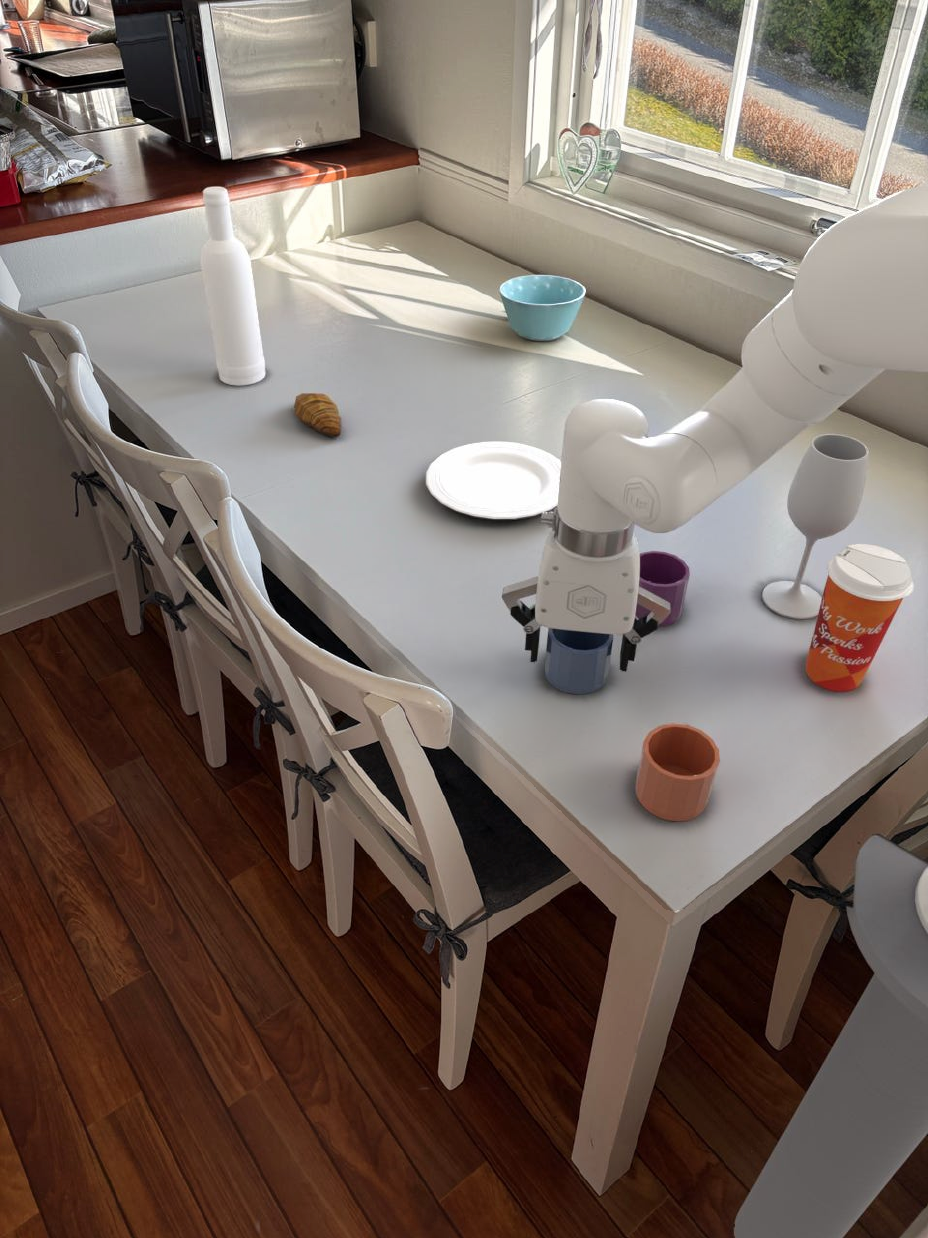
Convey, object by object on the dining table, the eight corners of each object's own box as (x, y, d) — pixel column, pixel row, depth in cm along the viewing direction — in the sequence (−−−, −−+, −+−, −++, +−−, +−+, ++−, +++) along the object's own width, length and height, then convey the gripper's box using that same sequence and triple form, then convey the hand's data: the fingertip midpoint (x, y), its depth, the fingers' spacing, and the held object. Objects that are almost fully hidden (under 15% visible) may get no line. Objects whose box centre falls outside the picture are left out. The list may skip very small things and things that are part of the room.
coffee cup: (781, 674, 102) (816, 564, 92) (815, 638, 107) (852, 531, 97) (853, 711, 98) (898, 601, 88) (885, 673, 102) (931, 564, 93)
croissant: (280, 410, 148) (276, 381, 145) (318, 400, 151) (315, 372, 148) (316, 446, 140) (313, 416, 136) (356, 435, 142) (354, 405, 139)
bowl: (480, 330, 174) (481, 286, 169) (538, 309, 182) (540, 267, 177) (540, 356, 165) (544, 311, 160) (598, 333, 174) (603, 289, 168)
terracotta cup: (722, 798, 88) (735, 756, 84) (672, 833, 85) (683, 791, 81) (669, 755, 93) (679, 713, 89) (620, 786, 89) (628, 744, 85)
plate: (552, 447, 140) (552, 435, 139) (589, 522, 125) (590, 510, 123) (416, 457, 137) (416, 445, 136) (437, 535, 122) (436, 523, 120)
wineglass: (822, 626, 108) (876, 470, 95) (756, 611, 110) (799, 456, 97) (827, 589, 114) (878, 437, 100) (764, 575, 116) (806, 424, 102)
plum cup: (693, 612, 110) (702, 572, 106) (652, 634, 107) (660, 594, 103) (651, 583, 114) (658, 544, 110) (611, 604, 111) (617, 564, 107)
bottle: (272, 368, 160) (249, 183, 141) (257, 388, 154) (230, 198, 135) (228, 364, 161) (199, 180, 142) (211, 383, 155) (178, 194, 136)
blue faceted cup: (620, 677, 101) (627, 635, 97) (573, 703, 98) (578, 661, 94) (577, 643, 105) (582, 602, 102) (531, 667, 102) (535, 626, 98)
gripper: (501, 541, 87) (495, 673, 98) (686, 557, 86) (659, 690, 96) (509, 499, 93) (503, 628, 104) (683, 514, 91) (658, 644, 102)
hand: (578, 658), depth 100 cm, fingers open, 9 cm apart
